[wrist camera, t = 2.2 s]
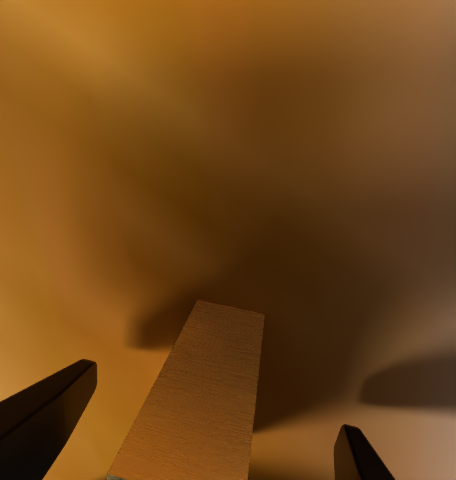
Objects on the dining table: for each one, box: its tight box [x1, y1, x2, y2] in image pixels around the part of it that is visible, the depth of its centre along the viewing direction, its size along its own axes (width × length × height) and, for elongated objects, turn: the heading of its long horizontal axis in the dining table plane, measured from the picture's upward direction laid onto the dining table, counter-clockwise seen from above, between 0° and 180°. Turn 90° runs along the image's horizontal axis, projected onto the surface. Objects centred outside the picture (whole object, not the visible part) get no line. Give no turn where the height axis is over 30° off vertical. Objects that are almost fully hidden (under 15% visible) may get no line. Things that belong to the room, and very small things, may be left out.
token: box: [107, 300, 265, 480], centre depth 7 cm, size 2×5×5 cm, turn 172°
